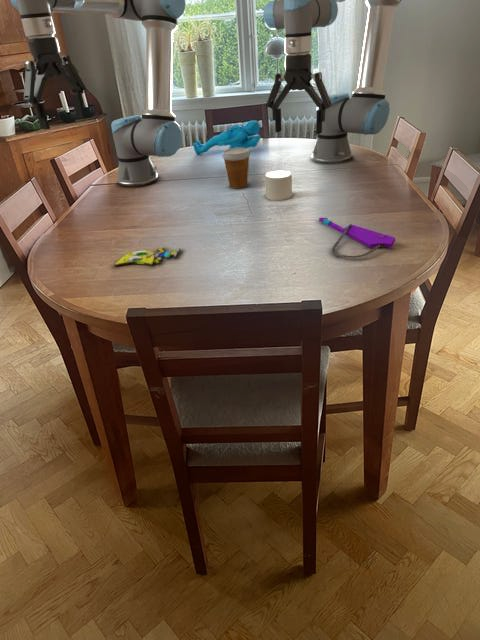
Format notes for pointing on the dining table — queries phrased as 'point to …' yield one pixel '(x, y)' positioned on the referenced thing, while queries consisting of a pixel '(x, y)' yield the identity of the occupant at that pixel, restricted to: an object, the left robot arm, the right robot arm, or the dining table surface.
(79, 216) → the dining table surface
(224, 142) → the toy
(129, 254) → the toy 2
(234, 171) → the disposable coffee cup
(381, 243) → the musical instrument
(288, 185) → the canister
